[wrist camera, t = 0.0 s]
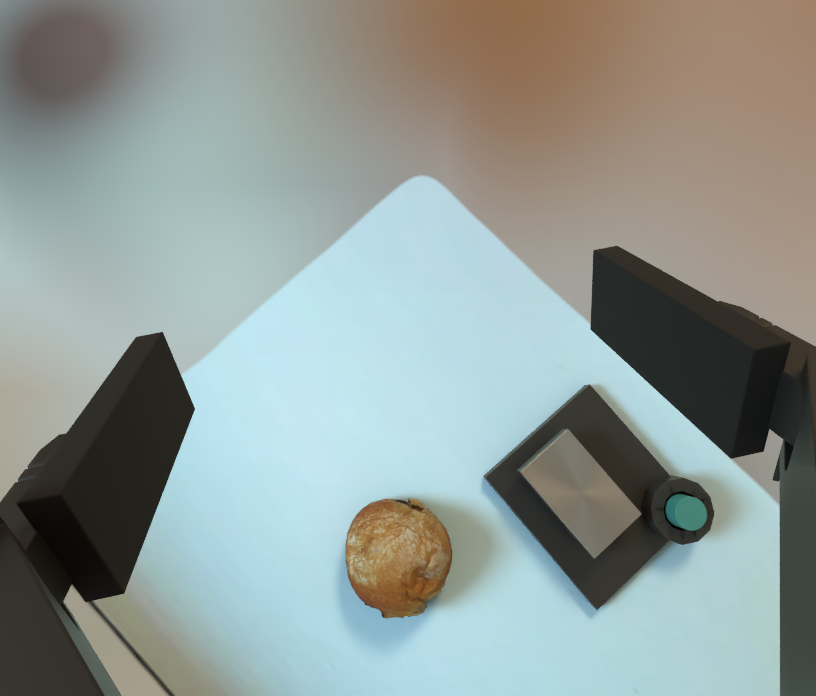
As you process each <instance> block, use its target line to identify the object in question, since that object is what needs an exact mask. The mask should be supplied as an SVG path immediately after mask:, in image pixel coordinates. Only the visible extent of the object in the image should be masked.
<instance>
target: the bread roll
mask: <svg viewBox="0 0 816 696" xmlns="http://www.w3.org/2000/svg"><path fill="white" fill-rule="evenodd" d="M451 561H452V549H451V544H450V539H449V536H448V533H447V530H446V528H445V527H444V526H443V524H442V523H441V522H440V521H439V519H438V518H437V517H436V516H435V515H434V514H433V513H432V512H431V511H430V510H429V509H425V507H424V505H423V504H422V503H420V502H419V501H418V500H416V499H411V498H409V499H408V502H406V501H402V500H393V499H383V500H380V501H375V502H372V503H370V504H369V505H367V506H366V507H364V508H363V509H362V510H361V511H360V512H359V513H358V514H357V515H356V517H355V518H354V519H353V521H352V524H351V526H350V528H349V530H348V533H347V540H346V564H347V572H348V578H349V580H350V583H351V585H352V587H353V589H354V590H355V592H356V594H357V595H358V596H359V598H360V599H361V600H362V601H364V603H365V605H368V606H370V607H372V608H376V609H379V610H380V611H381V613H382V617H383V618H393V617H400V618H404V616H408V617H410V616H418V615H419V614H421V613H423V612H424V610H425V609H426V608H427V606H426V603H427V602H428V600H429V599H431V598H433V597H434V596H436V595H437V594H438V593H439V592H440V591H441V589H442V588H443V587H444V585H445V579H446V577H447V575H448V573H449V571H450V567H451Z"/></svg>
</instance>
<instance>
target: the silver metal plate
mask: <svg viewBox="0 0 816 696" xmlns="http://www.w3.org/2000/svg"><path fill="white" fill-rule="evenodd" d="M517 472H518V473H519V474H520V475H521V477H522V478H523V479H524V480H525V481H526V483H527V484H528V485H529V486H530V487H531V488H532V490H533V491H534V492H535V493H536V494H537V495H538V497H539V498H540V499H541V500H542V501H543V502H544V504H545V505H546V506H547V507H548V508H549V510H550V511H551V512H552V513H553V514H554V515H555V517H556V518H557V519H558V520H559V521H560V522H561V524H562V525H563V526H564V527H565V528H566V530H567V531H568V532H569V533H570V534H571V535H572V537H573V538H574V539H575V540H576V541H577V542H578V544H579V545H580V546H581V547H582V548H583V550H584V551H585V552H586V553H587V554H588V555H589V556H591V557H592V558H594V559H595V558H596V557H597V556H598V555H599V554H600V553H601V552H602V551H603V550H604V549H605V548H606V547H608V546H609V545H610V544H611V543H612V542H613V541H614V540H615V539H616V538H617V537H618V536H619V535H620V534H621V533H622V532H623V531H624V530H625V529H626V528H627V527H629V526H630V525H631V524H632V523H633V522H634V521H635V520H636V519H637V518H638V517H639V516H640V515H641V512H640V511H639V510H638V509H637V508H636V507H635V505H634V504H633V503H632V502H631V501H630V500H629V499H628V497H627V496H626V495H625V494H624V493H623V492H622V490H621V489H620V488H619V487H618V486H617V485H616V484H615V482H614V481H613V480H612V479H611V478H610V477H609V476H608V474H607V473H606V472H605V471H604V470H603V469H602V467H601V466H600V465H599V464H598V463H597V462H596V461H595V459H594V458H593V457H592V456H591V455H590V454H589V453H588V451H587V450H586V449H585V448H584V447H583V446H582V444H581V443H580V442H579V441H578V440H577V439H576V438H575V436H574V435H573V434H572V433H571V432H570V431H569V429H562V430H561V431H559V432H558V433H557V434H556V435H555V436H554V437H553V438H552V439H551V440H549V441H548V442H547V443H546V444H545V445H544V446H543V447H542V448H541V449H539V450H538V451H537V452H536V453H535V454H534V455H533V456H532V457H531V458H529V459H528V460H527V461H526V462H525V463H524V464H523V465H522V466H521V467H519V468H518V469H517Z"/></svg>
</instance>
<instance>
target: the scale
mask: <svg viewBox="0 0 816 696" xmlns="http://www.w3.org/2000/svg"><path fill="white" fill-rule="evenodd" d="M562 429H569V431H570V432H571V433H572V434H573V435H574V436H575V438H576V439H577V440H578V441H579V442H580V443H581V444H582V446H583V447H584V448H585V449H586V450H587V451H588V453H589V454H590V455H591V456H592V457H593V458H594V459H595V461H596V462H597V463H598V464H599V465H600V466H601V467H602V469H603V470H604V471H605V472H606V473H607V474H608V476H609V477H610V478H611V479H612V480H613V481H614V482H615V484H616V485H617V486H618V487H619V488H620V489H621V490H622V492H623V493H624V494H625V495H626V496H627V497H628V499H629V500H630V501H631V502H632V503H633V504H634V505H635V507H636V508H637V509H638V510H639V511H640V512H641V515H640V516H639V517H638V518H637V519H636V520H635V521H634V522H633V523H632V524H631V525H630V526H629V527H627V528H626V529H625V530H624V531H623V532H622V533H621V534H620V535H619V536H618V537H617V538H616V539H615V540H614V541H613V542H612V543H611V544H610V545H609V546H608V547H606V548H605V549H604V550H603V551H602V552H601V553H600V554H599V555H598V556H597V557H596V558H595V559H594V558H592V557H591V556H589V555H588V554H587V553H586V552H585V551H584V550H583V548H582V547H581V546H580V545H579V544H578V542H577V541H576V540H575V539H574V538H573V537H572V535H571V534H570V533H569V532H568V531H567V530H566V528H565V527H564V526H563V525H562V524H561V522H560V521H559V520H558V519H557V518H556V517H555V515H554V514H553V513H552V512H551V511H550V510H549V508H548V507H547V506H546V505H545V504H544V502H543V501H542V500H541V499H540V498H539V497H538V495H537V494H536V493H535V492H534V491H533V490H532V488H531V487H530V486H529V485H528V484H527V483H526V481H525V480H524V479H523V478H522V477H521V475H520V474H519V473H518V472H517V469H518V468H519V467H521V466H522V465H523V464H524V463H525V462H526V461H527V460H528V459H529V458H531V457H532V456H533V455H534V454H535V453H536V452H537V451H538V450H539V449H541V448H542V447H543V446H544V445H545V444H546V443H547V442H548V441H549V440H551V439H552V438H553V437H554V436H555V435H556V434H557V433H558V432H559V431H561V430H562ZM484 478H485V479H486V480H487V481H488V483H489V484H490V485H491V486H492V487H493V489H494V490H495V491H496V492H497V493H498V494H499V496H500V497H501V498H502V499H503V500H504V502H505V503H506V504H507V505H508V506H509V507H510V509H511V510H512V511H513V512H514V513H515V515H516V516H517V517H518V518H519V519H520V521H521V522H522V523H523V524H524V525H525V526H526V528H527V529H528V530H529V531H530V532H531V534H532V535H533V536H534V537H535V538H536V540H537V541H538V542H539V543H540V544H541V545H542V547H543V548H544V549H545V550H546V551H547V553H548V554H549V555H550V556H551V557H552V558H553V560H554V561H555V562H556V563H557V564H558V566H559V567H560V568H561V569H562V570H563V572H564V573H565V574H566V575H567V576H568V577H569V579H570V580H571V581H572V582H573V583H574V585H575V586H576V587H577V588H578V589H579V591H580V592H581V593H582V594H583V595H584V596H585V598H586V599H587V600H588V601H589V602H590V604H591V605H592V606H593V607H594V608H595V609H597V610H598V609H599V608H600V607H601V606H602V605H603V604H604V603H605V602H606V601H607V600H608V599H609V598H610V597H611V596H612V595H613V594H614V593H615V592H616V591H617V590H618V589H619V588H620V587H621V586H622V585H623V584H624V583H625V582H627V581H628V580H629V579H630V578H631V577H632V576H633V575H634V574H635V573H636V572H637V571H638V570H639V569H640V568H641V567H642V566H643V565H644V564H645V563H646V562H647V561H648V560H649V559H650V558H651V557H652V556H653V555H654V554H655V553H656V552H657V551H658V550H660V549H661V548H662V547H663V546H664V545H665V544H666V543H667V542H668V541H669V540H670V541H673V542H676V543H678V544H681V545H683V544H688V543H693V542H698V541H699V540H700V539H701V538H702V537H703V536H704V535H705V534H706V533H707V532H708V531H709V530H710V528H711V524H712V520H713V517H714V510H713V506H712V502H711V498H710V496H709V495H708V494H707V493H706V492H705V490H704V489H703V488H702V487H701V486H700V485H699V484H698V483H696V482H693V481H690V480H688V479H685V478H681V477H676V476H670V475H669V474H668V473H667V472H666V471H665V469H664V468H663V467H662V466H661V465H660V464H659V463H658V461H657V460H656V459H655V458H654V457H653V456H652V455H651V454H650V452H649V451H648V450H647V449H646V448H645V447H644V446H643V444H642V443H641V442H640V441H639V440H638V439H637V438H636V437H635V435H634V434H633V433H632V432H631V431H630V430H629V429H628V427H627V426H626V425H625V424H624V423H623V422H622V421H621V420H620V418H619V417H618V416H617V415H616V414H615V413H614V412H613V410H612V409H611V408H610V407H609V406H608V405H607V404H606V402H605V401H604V400H603V399H602V398H601V397H600V396H599V395H598V393H597V392H596V391H595V390H594V389H593V388H592V387H591V385H585V386H584V387H583V388H582V389H580V390H579V391H578V392H577V393H576V394H575V395H574V396H573V397H571V398H570V399H569V400H568V401H567V402H566V403H565V404H564V405H563V406H561V407H560V408H559V409H558V410H557V411H556V412H555V413H554V414H552V415H551V416H550V417H549V418H548V419H547V420H546V421H545V422H543V423H542V424H541V425H540V426H539V427H538V428H537V429H536V430H535V431H533V432H532V433H531V434H530V435H529V436H528V437H527V438H526V439H524V440H523V441H522V442H521V443H520V444H519V445H518V446H517V447H515V448H514V449H513V450H512V451H511V452H510V453H509V454H508V455H507V456H505V457H504V458H503V459H502V460H501V461H500V462H499V463H498V464H496V465H495V466H494V467H493V468H492V469H491V470H490V471H489V472H487V473H486V474H485V475H484ZM677 494H683V495H687V496H691V497H695V498H697V499H699V500H700V501H701V502H702V503H703V504H704V506H705V508H706V510H707V519H706V522H705V524H704V525H703V526H702V527H701V528H700V529H698V530H694V531H690V530H686V529H683V528H681V527H678V526H675V525H674V524H672V523H671V522H670V521H669V520H668V518H667V516H666V512H665V506H666V503H667V501H668V500H669V499H670V498H671V497H672V496H674V495H677Z"/></svg>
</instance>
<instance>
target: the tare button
mask: <svg viewBox="0 0 816 696" xmlns="http://www.w3.org/2000/svg"><path fill="white" fill-rule="evenodd" d="M665 512H666V516H667V518H668V520H669V521H670V522H671V523H672V524H674V525H675V526H678V527H681V528H683V529H686V530H690V531H694V530H698V529H700V528H701V527H702V526H703V525H704V524H705V522H706V519H707V510H706V508H705V506H704V504H703V503H702V502H701V501H700V500H699V499H697V498H695V497H691V496H687V495H683V494H677V495H674V496H672V497H671V498H670V499H669V500H668V501H667V503H666V506H665Z"/></svg>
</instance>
